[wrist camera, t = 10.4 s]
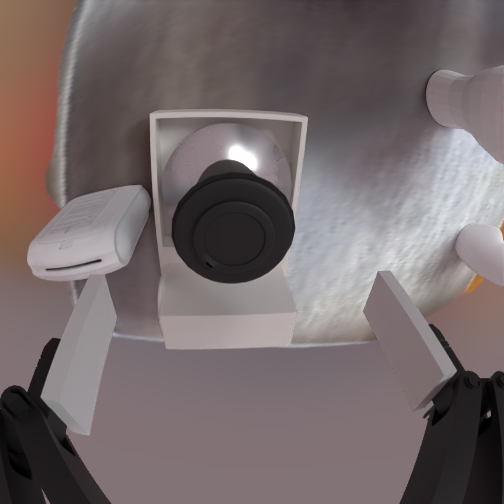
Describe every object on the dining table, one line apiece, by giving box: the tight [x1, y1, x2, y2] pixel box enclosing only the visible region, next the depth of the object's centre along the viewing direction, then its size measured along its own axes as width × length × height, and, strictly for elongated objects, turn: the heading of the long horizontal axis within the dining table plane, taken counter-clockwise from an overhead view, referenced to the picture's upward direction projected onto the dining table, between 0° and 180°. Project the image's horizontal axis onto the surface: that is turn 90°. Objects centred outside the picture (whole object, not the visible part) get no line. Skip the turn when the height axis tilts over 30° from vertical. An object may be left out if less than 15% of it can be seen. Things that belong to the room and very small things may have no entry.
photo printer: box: [27, 185, 151, 281], centre depth 25 cm, size 10×4×12 cm, turn 95°
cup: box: [426, 66, 504, 164], centre depth 20 cm, size 11×11×15 cm
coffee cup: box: [171, 159, 295, 284], centre depth 22 cm, size 8×8×10 cm
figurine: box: [455, 223, 504, 286], centre depth 34 cm, size 7×8×12 cm
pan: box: [162, 122, 292, 218], centre depth 28 cm, size 12×12×3 cm
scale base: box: [150, 109, 308, 349], centre depth 27 cm, size 21×14×11 cm
